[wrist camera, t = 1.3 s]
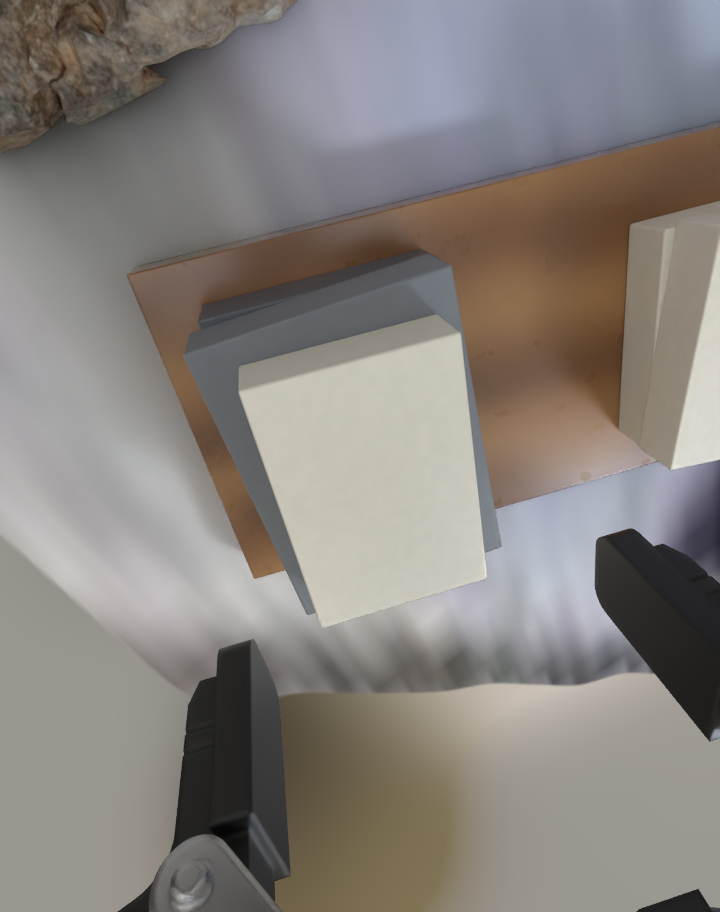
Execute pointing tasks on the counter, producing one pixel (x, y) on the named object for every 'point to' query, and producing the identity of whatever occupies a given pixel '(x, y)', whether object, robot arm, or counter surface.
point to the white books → (673, 337)
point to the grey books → (311, 324)
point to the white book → (372, 465)
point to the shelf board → (474, 306)
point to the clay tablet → (100, 53)
